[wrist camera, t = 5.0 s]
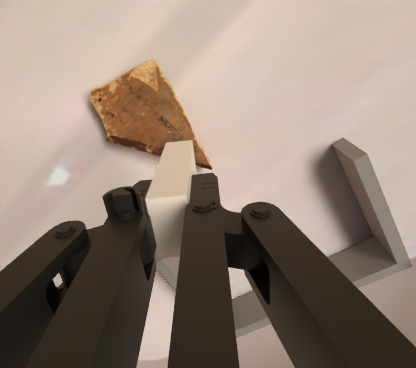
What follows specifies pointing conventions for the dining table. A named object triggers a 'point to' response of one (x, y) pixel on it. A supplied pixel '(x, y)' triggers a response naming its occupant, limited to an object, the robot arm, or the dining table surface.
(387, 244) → the box
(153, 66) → the shard
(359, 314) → the robot arm
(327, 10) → the dining table surface
